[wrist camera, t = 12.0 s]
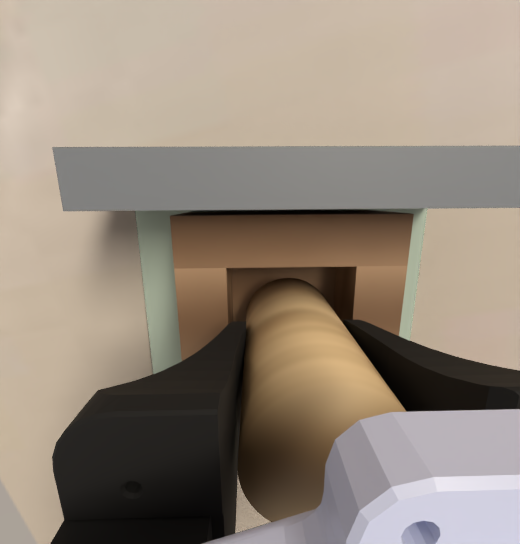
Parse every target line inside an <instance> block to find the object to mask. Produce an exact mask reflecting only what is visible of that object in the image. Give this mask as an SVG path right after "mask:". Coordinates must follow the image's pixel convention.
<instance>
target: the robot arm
mask: <svg viewBox="0 0 520 544" xmlns="http://www.w3.org/2000/svg"><path fill="white" fill-rule="evenodd" d="M343 324H344V326H345V327H346V328H347V330H348V331H349V333H350V334H351V335H352V337H353V338H354V339H355V341H356V342H357V344H358V345H359V346H360V348H361V349H362V351H363V352H364V353H365V355H366V356H367V357H368V359H369V360H370V362H371V363H372V364H373V366H374V367H375V368H376V370H377V371H378V373H379V374H380V375H381V377H382V378H383V380H384V381H385V382H386V384H387V385H388V386H389V388H390V389H391V391H392V392H393V393H394V395H395V396H396V398H397V399H398V400H399V402H400V403H401V404H402V406H403V407H404V409H405V410H406V411H407V412H389V413H385V414H381V415H377V416H373V417H369V418H365V419H361V420H358V421H357V422H356V423H355V424H354V425H352V426H351V427H350V428H349V429H347V430H346V431H345V432H344V433H342V434H341V435H340V436H339V437H337V438H336V439H335V441H334V443H333V446H332V449H331V451H330V454H329V456H328V459H327V462H326V464H325V478H324V492H323V497H322V501H321V504H320V505H319V506H318V507H317V508H316V509H313V510H310V511H307V512H304V513H300V514H297V515H294V516H291V517H287V518H284V519H281V520H277V521H274V522H271V523H268V524H264V525H261V526H258V527H255V528H251V529H248V530H245V531H242V532H238V533H235V525H236V498H237V474H238V450H239V433H240V416H241V399H242V381H243V364H244V353H245V345H246V321H231V322H230V323H229V324H228V325H227V326H226V327H225V328H224V329H223V330H222V331H221V332H220V333H219V334H218V335H217V336H216V337H215V338H214V339H213V340H212V341H210V342H209V343H208V344H207V345H205V346H204V347H203V348H202V349H200V350H199V351H198V352H196V353H195V354H193V355H192V356H190V357H188V358H187V359H185V360H183V361H181V362H179V363H177V364H175V365H173V366H171V367H169V368H167V369H165V370H163V371H161V372H158V373H155V374H153V375H150V376H147V377H145V378H142V379H139V380H136V381H132V382H129V383H125V384H121V385H117V386H113V387H109V388H106V389H101V390H98V391H97V392H96V393H95V394H94V396H93V397H92V398H91V399H90V400H89V401H88V403H87V404H86V405H85V406H84V407H83V409H82V410H81V411H80V412H79V414H78V415H77V416H76V417H75V419H74V420H73V421H72V422H71V424H70V425H69V426H68V427H67V429H66V430H65V431H64V433H63V434H62V435H61V437H60V438H59V440H58V441H57V442H56V446H55V449H54V453H53V456H52V459H53V472H54V476H55V481H56V485H57V489H58V494H59V498H60V503H61V507H62V511H63V516H64V522H63V523H62V525H61V527H60V528H59V530H58V532H57V534H56V535H55V537H54V539H53V540H52V542H51V544H520V371H518V370H512V369H507V368H502V367H497V366H492V365H487V364H483V363H479V362H475V361H470V360H466V359H463V358H459V357H455V356H452V355H449V354H446V353H442V352H439V351H436V350H433V349H430V348H427V347H425V346H422V345H419V344H417V343H414V342H412V341H409V340H407V339H404V338H402V337H400V336H397V335H395V334H393V333H391V332H388V331H386V330H384V329H382V328H380V327H377V326H375V325H373V324H370V323H368V322H365V321H362V320H358V319H357V320H343Z"/></svg>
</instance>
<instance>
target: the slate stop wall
mask: <svg viewBox="0 0 520 544" xmlns="http://www.w3.org/2000/svg"><path fill="white" fill-rule="evenodd" d="M52 148H53V154H54V160H55V165H56V171H57V177H58V183H59V189H60V195H61V201H62V206H63V211H159V210H288V209H418V208H520V146H286V147H52Z"/></svg>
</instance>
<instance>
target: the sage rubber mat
mask: <svg viewBox="0 0 520 544" xmlns="http://www.w3.org/2000/svg"><path fill="white" fill-rule="evenodd" d="M349 210H376V211H388V212H399V213H410V214H414V217H413V225H412V233H411V241H410V249H409V258H408V266H407V274H406V282H405V290H404V299H403V307H402V315H401V323H400V331H399V336H400V337H402V338H404V339H407V340H409V341H410V336H411V328H412V321H413V313H414V306H415V298H416V291H417V283H418V276H419V268H420V260H421V253H422V245H423V238H424V230H425V223H426V215H427V208H418V209H288V210H159V211H135V214H136V223H137V232H138V241H139V250H140V259H141V268H142V277H143V286H144V295H145V304H146V313H147V322H148V331H149V341H150V350H151V359H152V368H153V374H155V373H158V372H161V371H163V370H165V369H167V368H169V367H171V366H173V365H175V364H177V363H179V362H181V361H182V359H181V347H180V334H179V322H178V310H177V298H176V286H175V274H174V262H173V249H172V237H171V225H170V216H171V215H176V214H182V213H187V212H221V211H349Z"/></svg>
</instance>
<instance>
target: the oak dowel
mask: <svg viewBox="0 0 520 544" xmlns="http://www.w3.org/2000/svg"><path fill="white" fill-rule="evenodd" d="M389 412H407V411H406V410H405V409H404V407H403V406H402V404H401V403H400V402H399V400H398V399H397V398H396V396H395V395H394V393H393V392H392V391H391V389H390V388H389V386H388V385H387V384H386V382H385V381H384V380H383V378H382V377H381V375H380V374H379V373H378V371H377V370H376V368H375V367H374V366H373V364H372V363H371V362H370V360H369V359H368V357H367V356H366V355H365V353H364V352H363V351H362V349H361V348H360V346H359V345H358V344H357V342H356V341H355V339H354V338H353V337H352V335H351V334H350V333H349V331H348V330H347V328H346V327H345V326H344V324H343V323H342V321H341V320H340V319H339V317H338V316H337V315H336V313H335V312H334V310H333V309H332V308H331V306H330V305H329V303H328V302H327V301H326V299H325V298H324V297H323V295H322V294H321V293H320V291H319V290H318V289H317V288H315V287H314V286H313V285H311V284H310V283H308V282H306V281H303V280H300V279H296V278H282V279H277V280H274V281H271V282H269V283H267V284H266V285H264V286H262V287H261V288H260V289H259V290H258V291H257V292H256V293H255V294H254V296H253V297H252V299H251V301H250V303H249V305H248V308H247V313H246V345H245V353H244V364H243V381H242V399H241V416H240V433H239V450H238V477H239V481H240V485H241V488H242V490H243V492H244V494H245V496H246V498H247V499H248V501H249V502H250V504H251V505H252V506H253V507H254V508H255V509H256V511H257V512H259V513H260V514H261V515H262V516H263V517H265V518H266V519H268V520H269V521H271V522H274V521H277V520H281V519H284V518H287V517H291V516H294V515H297V514H300V513H304V512H307V511H310V510H313V509H316V508H317V507H318V506H319V505H320V504H321V501H322V497H323V492H324V478H325V464H326V462H327V459H328V456H329V454H330V451H331V449H332V446H333V443H334V441H335V439H336V438H337V437H339V436H340V435H341V434H342V433H344V432H345V431H346V430H347V429H349V428H350V427H351V426H352V425H354V424H355V423H356V422H357V421H358V420H361V419H365V418H369V417H373V416H377V415H381V414H385V413H389Z"/></svg>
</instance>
